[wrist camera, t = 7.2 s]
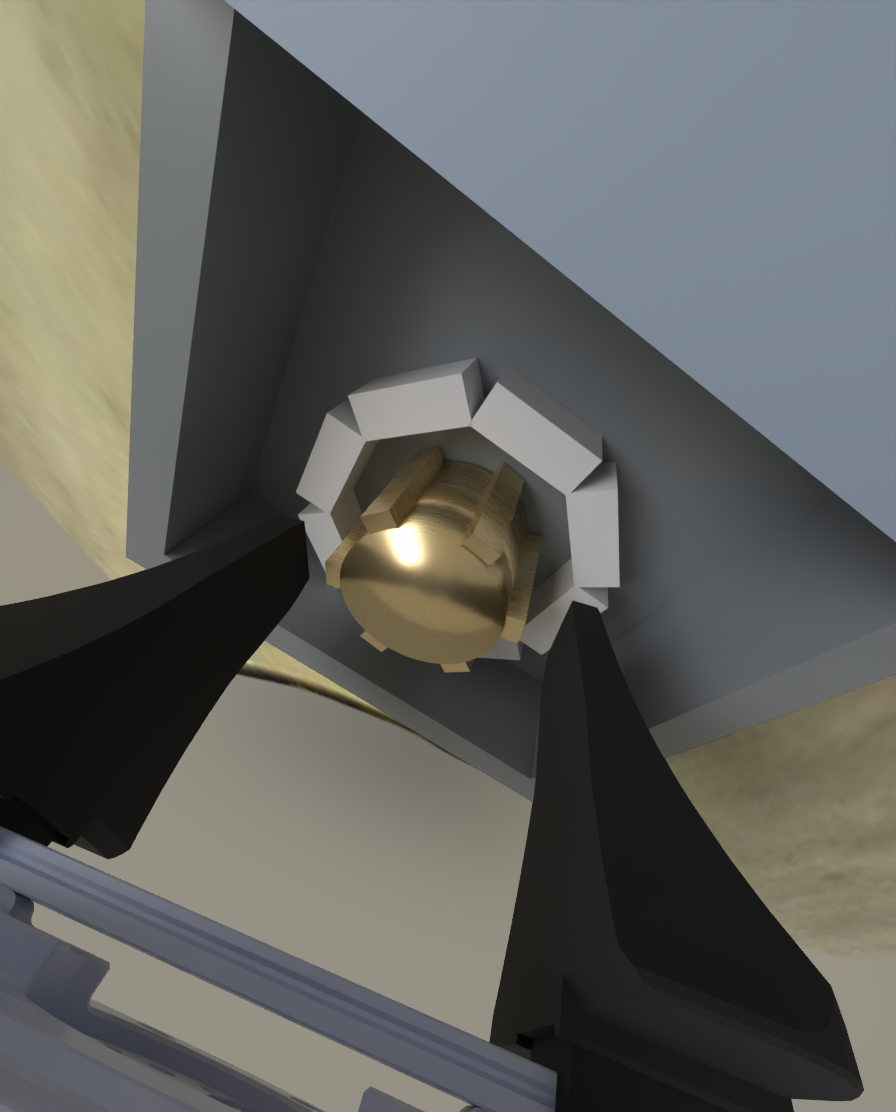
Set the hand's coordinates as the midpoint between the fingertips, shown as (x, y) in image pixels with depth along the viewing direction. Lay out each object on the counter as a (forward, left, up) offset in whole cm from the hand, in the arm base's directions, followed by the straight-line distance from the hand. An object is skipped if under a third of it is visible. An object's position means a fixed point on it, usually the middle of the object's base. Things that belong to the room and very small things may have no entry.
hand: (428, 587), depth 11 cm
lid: (0, -16, +1) cm, 16 cm away
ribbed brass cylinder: (0, 0, -3) cm, 3 cm away
